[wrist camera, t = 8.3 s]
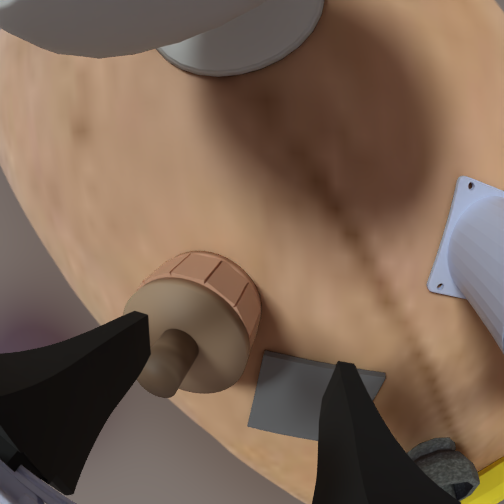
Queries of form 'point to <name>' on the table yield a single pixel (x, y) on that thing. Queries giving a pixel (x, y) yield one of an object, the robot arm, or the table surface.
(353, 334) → the table surface
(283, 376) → the mat
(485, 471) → the yellow rounded block
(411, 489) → the robot arm
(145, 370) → the lid
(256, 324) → the bowl
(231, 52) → the chalice
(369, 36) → the table surface
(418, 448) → the mortar and pestle
